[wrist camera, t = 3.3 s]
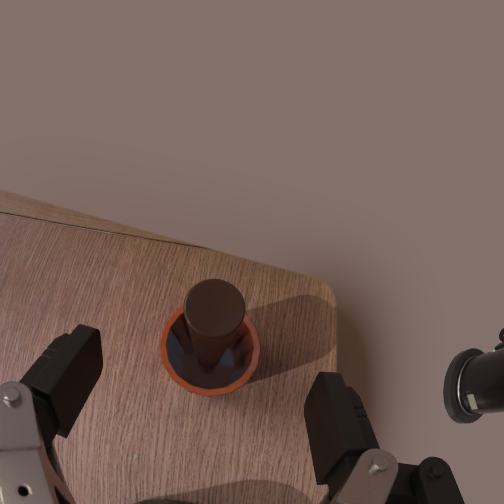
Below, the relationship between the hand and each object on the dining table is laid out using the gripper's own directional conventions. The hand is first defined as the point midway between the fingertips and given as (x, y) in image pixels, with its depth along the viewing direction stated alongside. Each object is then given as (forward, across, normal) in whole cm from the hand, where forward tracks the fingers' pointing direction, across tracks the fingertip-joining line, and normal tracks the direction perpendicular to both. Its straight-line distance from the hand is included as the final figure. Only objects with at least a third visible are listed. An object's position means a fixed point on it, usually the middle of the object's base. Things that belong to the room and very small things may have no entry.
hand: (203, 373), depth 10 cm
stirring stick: (+14, 0, +11) cm, 18 cm away
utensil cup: (+14, 0, +11) cm, 18 cm away
